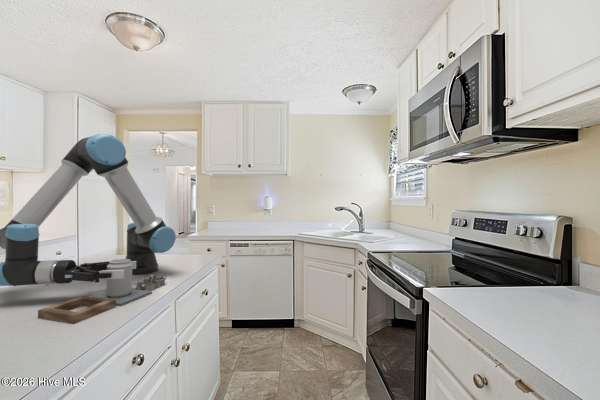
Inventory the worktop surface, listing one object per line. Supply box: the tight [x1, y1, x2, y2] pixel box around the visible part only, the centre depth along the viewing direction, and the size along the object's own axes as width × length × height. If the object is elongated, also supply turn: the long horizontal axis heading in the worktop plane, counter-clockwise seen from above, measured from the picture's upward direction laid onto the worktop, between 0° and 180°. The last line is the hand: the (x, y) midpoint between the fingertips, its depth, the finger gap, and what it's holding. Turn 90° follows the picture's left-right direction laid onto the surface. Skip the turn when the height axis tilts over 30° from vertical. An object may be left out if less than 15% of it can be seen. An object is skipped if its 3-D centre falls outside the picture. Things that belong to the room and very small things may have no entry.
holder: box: [37, 295, 117, 325], centre depth 85 cm, size 13×13×2 cm
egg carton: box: [134, 274, 167, 291], centre depth 111 cm, size 11×8×4 cm
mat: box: [90, 288, 153, 307], centre depth 98 cm, size 13×15×1 cm
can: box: [105, 258, 133, 298], centre depth 98 cm, size 8×8×12 cm
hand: (130, 269), depth 99 cm, fingers open, 13 cm apart
